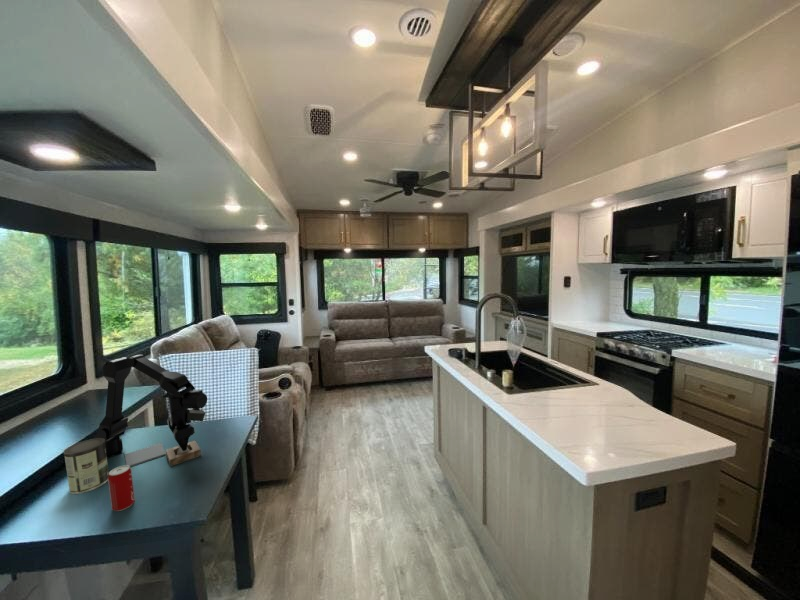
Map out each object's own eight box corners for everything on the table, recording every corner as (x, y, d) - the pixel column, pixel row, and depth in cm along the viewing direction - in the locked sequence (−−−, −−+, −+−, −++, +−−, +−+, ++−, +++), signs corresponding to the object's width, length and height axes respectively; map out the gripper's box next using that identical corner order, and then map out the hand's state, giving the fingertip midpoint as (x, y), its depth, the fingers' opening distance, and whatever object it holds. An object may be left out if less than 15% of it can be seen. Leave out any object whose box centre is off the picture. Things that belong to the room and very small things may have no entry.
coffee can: (98, 473, 119) (93, 436, 118) (116, 477, 116) (112, 439, 115) (61, 491, 110) (55, 451, 108) (80, 497, 106) (75, 455, 105)
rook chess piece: (181, 453, 131) (179, 434, 130) (192, 452, 131) (190, 433, 131) (174, 459, 126) (172, 439, 126) (186, 458, 127) (184, 438, 126)
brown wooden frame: (170, 466, 122) (169, 460, 122) (166, 456, 129) (165, 449, 129) (201, 455, 129) (200, 449, 128) (195, 446, 136) (194, 440, 136)
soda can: (136, 505, 101) (132, 468, 100) (113, 515, 98) (108, 476, 96) (133, 497, 105) (129, 461, 104) (111, 506, 101) (106, 469, 100)
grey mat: (126, 468, 122) (126, 466, 122) (124, 455, 131) (124, 454, 131) (165, 455, 130) (165, 453, 130) (161, 444, 139) (161, 442, 139)
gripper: (207, 408, 126) (211, 446, 127) (197, 395, 139) (200, 430, 141) (173, 417, 118) (177, 458, 120) (165, 403, 132) (169, 440, 133)
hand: (182, 446), depth 129 cm, fingers open, 9 cm apart
